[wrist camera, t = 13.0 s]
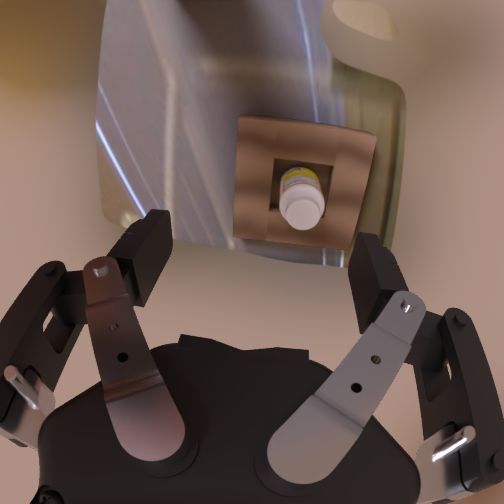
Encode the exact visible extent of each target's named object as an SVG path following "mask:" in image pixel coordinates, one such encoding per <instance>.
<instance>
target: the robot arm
mask: <svg viewBox="0 0 504 504" xmlns="http://www.w3.org/2000/svg"><path fill="white" fill-rule="evenodd" d="M172 247H173V239H172V228H171V217H170V212H169V211H168V210H158V209H151V210H150V211H149V213H148V214H147V215H146V216H145V218H144V219H139V220H138V221H136V222H134V223H133V224H131V225H130V226H129V228H128V229H127V230H126V231H125V233H124V234H123V235H122V236H121V239H119V240H118V241H117V243H116V244H115V245H114V246H113V248H112V249H111V250H110V252H109V253H108V254H107V256H102V257H97V258H95V259H93V260H91V261H89V262H88V263H87V264H86V265H85V266H84V268H83V270H80V271H69V272H67V270H66V267H65V265H64V263H62V262H61V261H51V262H48V263H45V264H44V265H42V266H41V267H40V268H39V269H38V270H37V271H36V272H35V274H34V275H33V276H32V278H31V279H30V280H29V282H28V283H27V285H26V286H25V287H24V288H23V290H22V292H21V293H20V294H19V296H18V297H17V298H16V300H15V301H14V303H13V304H12V306H11V307H10V308H9V310H8V311H7V313H6V314H5V316H4V318H3V319H2V321H1V323H0V435H2V436H3V437H5V438H7V439H9V440H10V441H12V442H13V443H15V444H16V445H18V446H20V447H28V446H29V447H31V448H33V449H35V450H37V451H38V454H39V465H40V479H39V487H38V490H37V493H36V495H35V496H34V498H33V500H32V501H31V502H30V504H425V503H430V502H431V503H433V504H447V503H450V502H453V501H456V500H459V499H462V498H464V497H467V496H470V495H472V494H475V493H477V492H479V491H482V490H484V489H487V488H489V487H491V486H493V485H495V484H498V483H500V482H501V481H503V480H504V418H503V414H502V410H501V406H500V402H499V398H498V394H497V391H496V387H495V384H494V380H493V377H492V374H491V371H490V367H489V364H488V362H487V359H486V356H485V353H484V350H483V347H482V344H481V342H480V339H479V337H478V334H477V331H476V329H475V326H474V324H473V322H472V320H471V318H470V317H469V316H468V315H467V314H466V313H465V312H464V311H462V310H460V309H458V308H449V309H447V311H446V312H445V313H444V315H443V316H441V315H438V314H435V313H432V312H429V311H426V306H425V304H424V302H423V301H422V299H420V298H419V297H418V296H417V295H415V294H414V293H412V292H409V290H408V287H407V285H406V282H405V280H404V277H403V275H402V273H401V272H400V268H399V266H398V265H397V261H396V259H395V257H394V255H393V254H392V253H391V252H390V251H389V250H388V249H387V248H386V247H382V245H381V243H380V241H379V238H378V236H377V235H376V234H371V233H363V232H359V233H358V235H357V238H356V242H355V245H354V248H353V252H352V255H351V258H350V261H349V266H348V276H349V281H350V285H351V290H352V295H353V300H354V304H355V310H356V314H357V320H358V326H359V331H360V334H363V335H362V336H361V338H360V339H359V340H358V342H357V343H356V344H355V345H354V347H353V348H352V349H351V351H350V352H349V353H348V354H347V356H346V357H345V358H344V359H343V361H342V362H341V363H340V364H339V366H338V367H337V368H336V369H335V370H334V372H333V371H331V370H330V369H328V368H327V367H325V366H324V365H322V364H320V363H317V362H315V361H312V360H309V350H303V349H290V348H280V347H274V348H265V349H255V350H240V349H237V348H234V347H232V346H229V345H226V344H224V343H221V342H218V341H216V340H213V339H208V338H202V337H196V336H190V335H184V334H181V335H180V338H179V341H178V343H172V344H165V345H161V346H158V347H156V348H153V349H151V350H149V347H148V345H147V342H146V340H145V337H144V335H143V333H142V330H141V327H140V325H139V322H138V319H137V317H136V314H135V311H134V309H133V306H139V307H144V306H145V304H146V302H147V300H148V298H149V296H150V294H151V292H152V290H153V288H154V286H155V284H156V282H157V280H158V278H159V276H160V274H161V272H162V270H163V268H164V266H165V264H166V263H167V261H168V259H169V257H170V255H171V252H172ZM50 311H51V312H52V314H53V317H52V319H51V320H50V322H49V324H48V325H47V328H46V329H45V331H44V332H43V323H44V321H45V319H46V317H47V316H48V314H49V312H50ZM85 324H88V327H89V332H90V337H91V341H92V346H93V350H94V354H95V358H96V362H97V366H98V370H99V374H100V378H101V381H100V382H98V383H97V384H95V385H94V386H92V387H90V388H89V389H87V390H86V391H84V392H82V393H81V394H79V395H77V396H76V397H74V398H73V399H71V400H69V401H68V402H66V403H65V404H63V405H62V406H60V407H58V408H56V409H54V408H55V397H54V394H53V392H54V389H55V387H56V385H57V382H58V379H59V377H60V375H61V373H62V370H63V368H64V366H65V364H66V362H67V359H68V357H69V355H70V353H71V351H72V349H73V347H74V344H75V343H76V341H77V339H78V336H79V334H80V332H81V330H82V328H83V327H84V325H85ZM403 362H404V363H408V364H411V365H413V368H414V373H415V378H416V384H417V390H418V396H419V403H420V410H421V418H422V427H423V436H424V442H422V444H421V445H420V446H419V448H418V450H417V456H416V459H415V461H413V459H412V458H411V457H410V456H409V455H408V454H407V452H406V451H405V450H404V449H403V448H402V447H401V446H400V445H399V444H398V443H397V442H396V440H395V439H394V438H393V437H392V436H391V435H390V434H389V433H388V432H387V430H386V429H385V428H384V427H383V426H382V425H381V424H380V423H379V422H378V420H377V419H376V418H375V417H374V416H373V415H372V414H373V413H374V411H375V410H376V408H377V407H378V405H379V403H380V401H381V400H382V399H383V397H384V395H385V394H386V392H387V390H388V389H389V387H390V385H391V384H392V382H393V380H394V379H395V377H396V375H397V373H398V371H399V370H400V368H401V366H402V364H403ZM448 363H449V365H450V369H451V374H452V375H451V380H450V376H449V372H448V368H447V364H448Z"/></svg>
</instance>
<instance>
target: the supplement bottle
mask: <svg viewBox="0 0 504 504" xmlns="http://www.w3.org/2000/svg"><path fill="white" fill-rule="evenodd" d="M279 208H280V212H281V214H282V216H283V217H284V219H285V220H287V221H288V223H289V224H290V225H291V226H292V227H293V228H295V229H298V230H308V229H311V228H313V227H314V226H315V225H316V224H317V223H318V221H319V219H320V217H321V216H322V214H323V212H324V208H325V202H324V197H323V194H322V190H321V186H320V183H319V179H318V177H317V175H316V173H315V172H314V171H313V170H312V169H310V168H308V167H306V166H301V165H298V166H293V167H291V168H289V169H287V170H286V171H285V172H284V173H283V175H282V177H281V181H280V199H279Z"/></svg>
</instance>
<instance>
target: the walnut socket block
mask: <svg viewBox="0 0 504 504" xmlns="http://www.w3.org/2000/svg"><path fill="white" fill-rule="evenodd" d="M376 139H377V137H376V136H374V135H373V134H372V133H371V132H366V131H361V130H356V129H351V128H346V127H340V126H335V125H329V124H322V123H316V122H309V121H302V120H294V119H285V118H276V117H266V116H254V115H240V116H239V118H238V127H237V146H236V167H235V191H234V216H233V237H237V238H246V239H255V240H264V241H272V242H281V243H290V244H298V245H307V246H315V247H324V248H332V249H341V250H349V248H350V245H351V241H352V238H353V234H354V231H355V227H356V224H357V220H358V216H359V213H360V209H361V205H362V201H363V197H364V193H365V189H366V185H367V181H368V176H369V172H370V167H371V163H372V158H373V154H374V149H375V144H376ZM298 165H301V166H306V167H308V168H310V169H312V170H313V171H314V172H315V173H316V175H317V177H318V179H319V183H320V186H321V190H322V194H323V197H324V202H325V208H324V212H323V214H322V216H321V217H320V219H319V221H318V223H317V224H316V225H315V226H314V227H313V228H311V229H308V230H298V229H295V228H293V227H292V226H291V225H290V224H289V223H288V221H287V220H285V219H284V217H283V216H282V214H281V212H280V208H279V199H280V181H281V177H282V175H283V173H284V172H285V171H286V170H287V169H289V168H291V167H293V166H298Z"/></svg>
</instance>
